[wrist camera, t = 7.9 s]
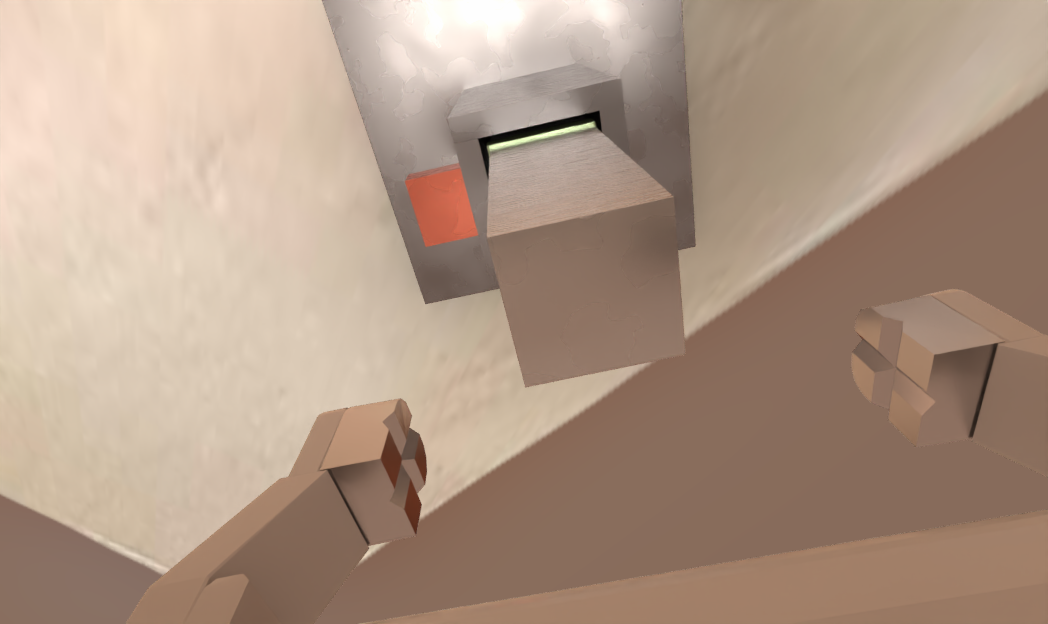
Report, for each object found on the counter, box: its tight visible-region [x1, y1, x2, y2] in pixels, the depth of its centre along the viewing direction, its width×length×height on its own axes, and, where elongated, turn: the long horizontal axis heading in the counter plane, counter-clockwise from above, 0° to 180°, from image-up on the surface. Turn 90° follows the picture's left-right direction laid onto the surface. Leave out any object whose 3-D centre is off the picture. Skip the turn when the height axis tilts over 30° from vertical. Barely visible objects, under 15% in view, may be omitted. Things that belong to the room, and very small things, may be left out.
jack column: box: [487, 115, 686, 387], centre depth 20 cm, size 4×4×18 cm
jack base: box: [322, 0, 695, 304], centre depth 28 cm, size 20×20×14 cm
